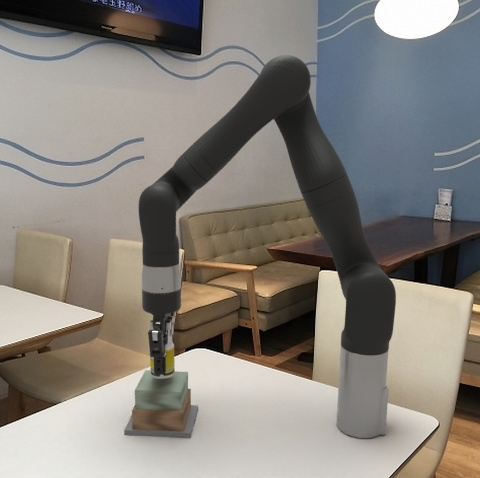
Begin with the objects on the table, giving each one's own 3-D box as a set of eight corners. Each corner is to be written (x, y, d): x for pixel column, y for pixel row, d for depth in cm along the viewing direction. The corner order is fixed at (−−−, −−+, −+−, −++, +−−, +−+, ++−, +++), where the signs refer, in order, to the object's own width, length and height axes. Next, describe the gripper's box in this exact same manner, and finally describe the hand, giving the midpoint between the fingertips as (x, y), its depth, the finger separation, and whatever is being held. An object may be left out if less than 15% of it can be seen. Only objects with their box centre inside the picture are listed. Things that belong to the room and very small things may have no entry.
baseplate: (198, 409, 116) (198, 405, 116) (190, 437, 105) (190, 433, 105) (138, 407, 117) (137, 402, 116) (124, 434, 106) (124, 430, 106)
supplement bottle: (175, 369, 111) (175, 330, 110) (173, 379, 107) (173, 338, 105) (152, 369, 111) (151, 330, 110) (149, 379, 107) (148, 338, 105)
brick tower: (190, 406, 115) (190, 370, 114) (183, 431, 106) (183, 393, 104) (144, 404, 116) (143, 369, 114) (132, 429, 106) (131, 391, 105)
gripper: (174, 297, 98) (175, 385, 101) (186, 276, 112) (186, 354, 116) (133, 296, 99) (135, 383, 102) (150, 275, 113) (151, 353, 116)
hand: (162, 367), depth 109 cm, fingers closed on supplement bottle, 4 cm apart
